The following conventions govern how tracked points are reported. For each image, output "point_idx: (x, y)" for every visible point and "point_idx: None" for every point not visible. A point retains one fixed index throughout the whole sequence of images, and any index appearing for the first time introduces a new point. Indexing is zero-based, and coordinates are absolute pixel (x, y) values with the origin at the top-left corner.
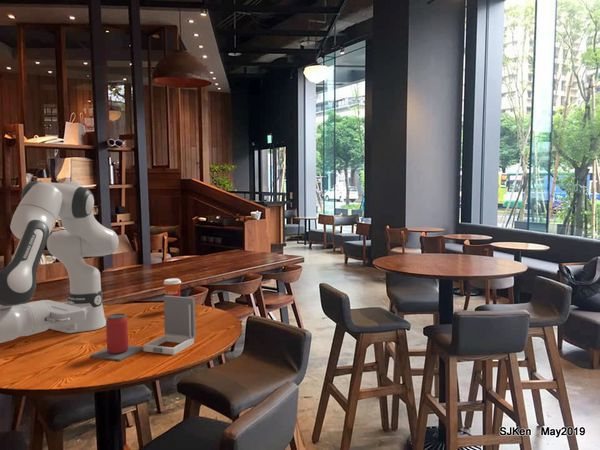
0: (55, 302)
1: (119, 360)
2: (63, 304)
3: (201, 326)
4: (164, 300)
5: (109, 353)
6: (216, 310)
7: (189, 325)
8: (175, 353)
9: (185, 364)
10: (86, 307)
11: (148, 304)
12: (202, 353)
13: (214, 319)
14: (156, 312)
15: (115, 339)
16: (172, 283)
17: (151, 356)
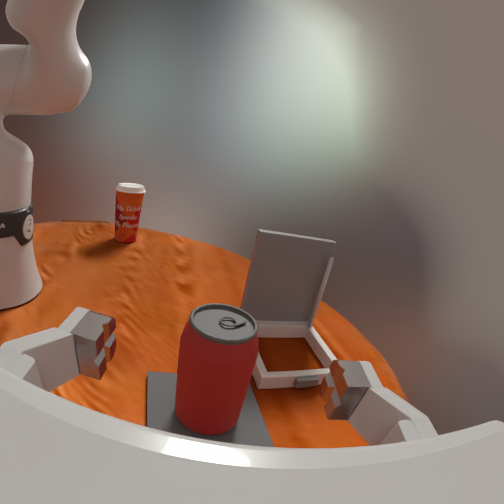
0: (15, 409)
1: None
2: (224, 479)
3: (234, 280)
4: (260, 242)
5: (198, 433)
6: (194, 240)
7: (318, 302)
8: None
9: (404, 400)
10: (393, 393)
11: (69, 225)
12: (368, 359)
13: (224, 261)
14: (101, 243)
15: (236, 403)
16: (137, 191)
17: (310, 405)
